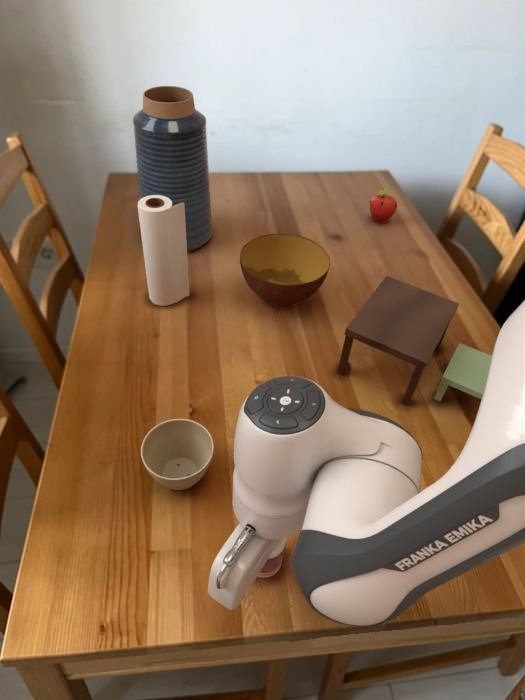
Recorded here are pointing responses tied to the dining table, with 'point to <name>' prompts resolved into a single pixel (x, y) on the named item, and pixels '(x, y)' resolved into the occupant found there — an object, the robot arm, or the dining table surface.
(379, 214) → the red round fruit
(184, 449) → the flower pot
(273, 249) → the bowl
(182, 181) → the vase
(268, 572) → the pill bottle
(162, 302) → the paper towel roll
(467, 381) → the chair
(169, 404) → the dining table surface
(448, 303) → the toy table
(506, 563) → the dining table surface
